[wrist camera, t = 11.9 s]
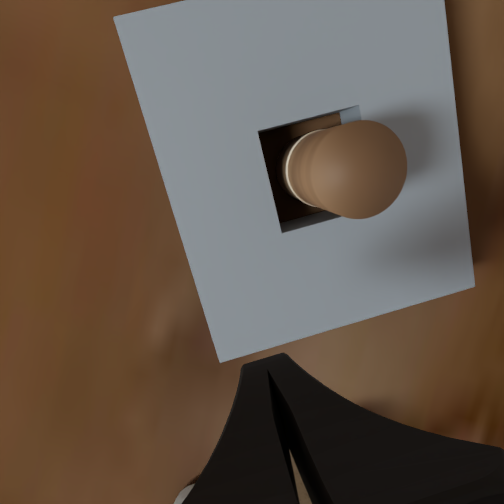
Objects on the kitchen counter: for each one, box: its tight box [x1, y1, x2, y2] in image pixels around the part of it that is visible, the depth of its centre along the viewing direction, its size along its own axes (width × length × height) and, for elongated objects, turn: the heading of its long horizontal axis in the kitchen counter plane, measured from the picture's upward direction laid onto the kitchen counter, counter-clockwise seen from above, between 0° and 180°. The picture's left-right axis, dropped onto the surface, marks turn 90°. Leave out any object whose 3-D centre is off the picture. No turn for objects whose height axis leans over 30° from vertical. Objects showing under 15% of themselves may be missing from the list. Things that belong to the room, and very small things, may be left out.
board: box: [113, 0, 475, 363], centre depth 19 cm, size 14×16×2 cm
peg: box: [276, 120, 407, 219], centre depth 17 cm, size 4×4×7 cm
